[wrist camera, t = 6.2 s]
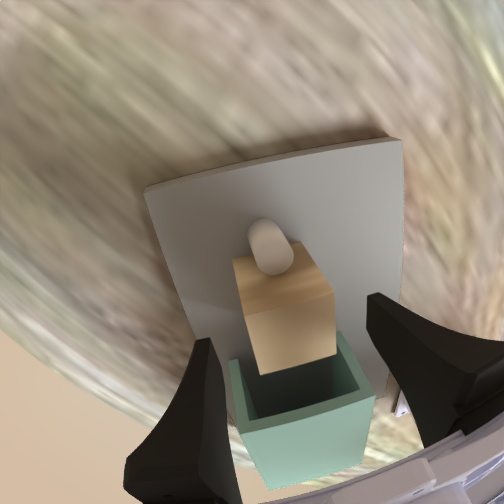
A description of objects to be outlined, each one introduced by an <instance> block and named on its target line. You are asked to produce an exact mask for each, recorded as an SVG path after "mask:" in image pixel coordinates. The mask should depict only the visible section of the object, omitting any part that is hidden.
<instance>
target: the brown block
mask: <svg viewBox="0 0 504 504" xmlns="http://www.w3.org/2000/svg"><path fill="white" fill-rule="evenodd" d="M290 246H291V248H292V250H293V253H294V259H293V262H292V264H291V266H290V267H289V268H288V269H287V270H286V271H285V272H283V273H281V274H278V275H268V274H265V273H263V272H262V271H261V270H260V269H259V268H258V266H257V263H256V260H255V258H254V255H253V254H250V255H246V256H242V257H238V258H233V259H232V262H233V267H234V272H235V276H236V281H237V286H238V290H239V295H240V300H241V304H242V309H243V313H244V318H245V321H246V325H247V329H248V332H249V336H250V340H251V343H252V347H253V351H254V354H255V358H256V361H257V365H258V369H259V372H260V375H263V374H267V373H271V372H275V371H279V370H283V369H287V368H290V367H294V366H298V365H301V364H305V363H308V362H312V361H315V360H318V359H322V358H325V357H328V356H332V355H335V354H336V316H335V293H334V291H333V289H332V288H331V286H330V285H329V283H328V282H327V280H326V279H325V277H324V275H323V274H322V272H321V271H320V269H319V268H318V266H317V265H316V263H315V262H314V260H313V259H312V257H311V256H310V254H309V253H308V251H307V250H306V248H305V247H304V245H303V244H302V242H299V243H295V244H291V245H290Z"/></svg>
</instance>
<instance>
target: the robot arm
mask: <svg viewBox="0 0 504 504" xmlns="http://www.w3.org/2000/svg"><path fill="white" fill-rule="evenodd" d="M366 330H367V332H368V334H369V336H370V338H371V340H372V342H373V344H374V346H375V348H376V350H377V351H378V353H379V354H380V356H381V357H382V359H383V360H384V362H385V363H386V365H387V366H388V368H389V370H390V371H391V373H392V374H393V376H394V377H395V379H396V381H397V382H398V384H399V386H400V388H401V392H400V395H399V399H398V403H397V406H396V410H395V413H394V415H395V417H399V416H402V415H404V414H406V413H408V412H409V413H410V415H411V417H412V418H413V420H414V422H415V424H416V426H417V428H418V431H419V433H420V437H421V440H422V443H423V446H424V449H423V450H421V451H419V452H417V453H415V454H413V455H411V456H408V457H406V458H404V459H402V460H400V461H397V462H395V463H393V464H390V465H388V466H386V467H383V468H381V469H378V470H376V471H373V472H370V473H368V474H365V475H362V476H360V477H357V478H354V479H351V480H348V481H345V482H342V483H339V484H336V485H333V486H330V487H326V488H323V489H320V490H316V491H312V492H309V493H305V494H301V495H297V496H293V497H289V498H284V499H280V500H275V501H270V502H265V503H260V504H487V503H488V502H490V501H491V500H493V499H494V498H495V497H497V496H498V495H500V494H501V493H502V492H503V491H504V341H496V340H488V339H482V338H477V337H473V336H469V335H465V334H462V333H459V332H455V331H453V330H450V329H447V328H445V327H442V326H440V325H437V324H435V323H433V322H431V321H429V320H427V319H425V318H423V317H421V316H419V315H417V314H415V313H414V312H412V311H410V310H408V309H407V308H405V307H403V306H401V305H400V304H398V303H397V302H395V301H393V300H392V299H390V298H388V297H387V296H385V295H383V294H382V293H380V292H376V293H373V294H370V295H367V313H366ZM123 481H124V482H123V487H124V489H125V490H126V491H127V492H128V493H129V494H130V495H132V496H133V497H135V498H136V499H138V500H139V501H141V502H142V503H143V504H243V503H242V499H241V495H240V491H239V487H238V482H237V478H236V473H235V469H234V464H233V459H232V454H231V448H230V443H229V437H228V428H227V410H226V392H225V383H224V377H223V371H222V367H221V364H220V362H219V359H218V356H217V354H216V351H215V349H214V346H213V343H212V341H211V338H210V337H207V338H203V339H198V340H196V341H195V344H194V347H193V351H192V354H191V357H190V360H189V363H188V366H187V368H186V371H185V374H184V376H183V379H182V381H181V383H180V385H179V387H178V390H177V392H176V394H175V396H174V398H173V400H172V401H171V403H170V405H169V407H168V408H167V410H166V412H165V413H164V415H163V416H162V418H161V419H160V421H159V422H158V424H157V425H156V426H155V428H154V429H153V430H152V431H151V433H150V434H149V435H148V436H147V437H146V439H145V440H144V441H143V442H142V443H141V444H140V445H139V446H138V447H137V449H135V450H134V452H132V453H131V455H129V456H128V457H127V459H126V464H125V469H124V480H123ZM490 504H504V494H502V495H501V496H500V497H498V498H497V499H496V500H494V501H493V502H492V503H490Z"/></svg>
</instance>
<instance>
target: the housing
mask: <svg viewBox="0 0 504 504" xmlns="http://www.w3.org/2000/svg"><path fill="white" fill-rule="evenodd" d="M228 364H229V371H230V378H231V385H232V391H233V398H234V404H235V411H236V417H237V423H238V429H239V435H240V437H241V439H242V441H243V443H244V445H245V447H246V449H247V451H248V453H249V454H250V456H251V458H252V460H253V462H254V464H255V466H256V468H257V470H258V471H259V473H260V475H261V477H262V479H263V481H264V482H265V484H266V486H267V488H268V490H273V489H277V488H282V487H286V486H290V485H294V484H298V483H302V482H306V481H309V480H313V479H316V478H320V477H323V476H327V475H330V474H333V473H336V472H339V471H342V470H345V469H348V468H351V467H354V466H357V465H359V464H361V463H362V459H363V455H364V451H365V446H366V442H367V437H368V433H369V428H370V423H371V418H372V413H373V408H374V402H375V397H376V395H375V393H374V391H373V389H372V387H371V385H370V383H369V381H368V380H367V378H366V376H365V374H364V372H363V370H362V369H361V367H360V365H359V363H358V361H357V359H356V358H355V356H354V354H353V352H352V350H351V348H350V347H349V345H348V343H347V341H346V339H345V338H344V336H343V334H342V332H341V331H338V332H336V354H335V355H333V399H330V400H327V401H324V402H321V403H317V404H314V405H311V406H307V407H304V408H300V409H297V410H293V411H289V412H285V413H282V414H278V415H274V416H270V417H265V418H261V419H258V416H257V413H256V410H255V408H254V405H253V402H252V399H251V396H250V393H249V391H248V388H247V385H246V382H245V379H244V376H243V373H242V370H241V367H240V364H239V361H238V359H234V360H230V361H228Z"/></svg>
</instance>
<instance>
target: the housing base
mask: <svg viewBox="0 0 504 504" xmlns="http://www.w3.org/2000/svg"><path fill="white" fill-rule="evenodd" d="M143 195H144V198H145V202H146V205H147V208H148V211H149V214H150V217H151V220H152V223H153V226H154V229H155V232H156V235H157V238H158V241H159V244H160V247H161V249H162V252H163V255H164V258H165V261H166V263H167V266H168V269H169V272H170V274H171V277H172V280H173V282H174V285H175V288H176V290H177V293H178V296H179V298H180V301H181V303H182V306H183V308H184V311H185V313H186V316H187V318H188V321H189V323H190V326H191V328H192V331H193V333H194V336H195V338H196V340H198V339H203V338H207V337H210V338H211V341H212V343H213V346H214V349H215V351H216V354H217V356H218V359H219V362H220V364H221V367H222V371H223V377H224V383H225V392H226V408H227V410H228V412H229V414H230V416H231V418H232V420H233V422H234V424H235V426H236V428H237V431H238V433H239V429H238V423H237V417H236V411H235V404H234V398H233V391H232V385H231V378H230V371H229V364H228V361H230V360H234V359H238V361H239V364H240V367H241V370H242V373H243V376H244V379H245V382H246V385H247V388H248V391H249V393H250V396H251V399H252V402H253V405H254V408H255V410H256V413H257V416H258V419H261V418H265V417H270V416H274V415H278V414H282V413H285V412H289V411H293V410H297V409H300V408H304V407H307V406H311V405H314V404H317V403H321V402H324V401H327V400H330V399H333V355H332V356H328V357H325V358H322V359H318V360H315V361H312V362H308V363H305V364H301V365H298V366H294V367H290V368H287V369H283V370H279V371H275V372H271V373H267V374H263V375H260V372H259V369H258V365H257V361H256V358H255V354H254V351H253V347H252V343H251V340H250V336H249V332H248V329H247V325H246V321H245V318H244V313H243V309H242V304H241V300H240V295H239V290H238V286H237V281H236V276H235V272H234V267H233V262H232V259H233V258H238V257H242V256H246V255H250V254H253V255H254V258H255V260H256V263H257V266H258V268H259V269H260V270H261V271H262V272H263V273H265V274H268V275H278V274H281V273H283V272H285V271H286V270H287V269H288V268H289V267H290V266H291V264H292V262H293V259H294V253H293V250H292V248H291V246H290V245H291V244H295V243H299V242H302V244H303V245H304V247H305V248H306V250H307V251H308V253H309V254H310V256H311V257H312V259H313V260H314V262H315V263H316V265H317V266H318V268H319V269H320V271H321V272H322V274H323V275H324V277H325V279H326V280H327V282H328V283H329V285H330V286H331V288H332V289H333V291H334V293H335V316H336V332H338V331H341V332H342V334H343V336H344V338H345V339H346V341H347V343H348V345H349V347H350V348H351V350H352V352H353V354H354V356H355V358H356V359H357V361H358V363H359V365H360V367H361V369H362V370H363V372H364V374H365V376H366V378H367V380H368V381H369V383H370V385H371V387H372V389H373V391H374V393H375V395H376V397H375V400H376V399H378V398H381V397H384V396H385V391H386V386H387V381H388V375H389V368H388V366H387V365H386V363H385V362H384V360H383V359H382V357H381V356H380V354H379V353H378V351H377V350H376V348H375V346H374V344H373V342H372V340H371V338H370V336H369V334H368V332H367V330H366V313H367V295H370V294H373V293H376V292H380V293H382V294H383V295H385V296H387V297H388V298H390V299H392V300H393V301H395V302H397V303H398V304H399V297H400V286H401V274H402V259H403V238H404V167H403V146H402V140H400V139H397V138H393V137H382V138H374V139H367V140H360V141H353V142H346V143H340V144H334V145H328V146H322V147H316V148H310V149H305V150H299V151H294V152H289V153H283V154H278V155H273V156H268V157H264V158H259V159H254V160H250V161H245V162H241V163H236V164H232V165H228V166H223V167H219V168H215V169H211V170H207V171H203V172H199V173H195V174H191V175H187V176H183V177H180V178H176V179H172V180H168V181H165V182H161V183H158V184H154V185H151V186H147V187H146V189H145V191H144V193H143Z"/></svg>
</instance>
